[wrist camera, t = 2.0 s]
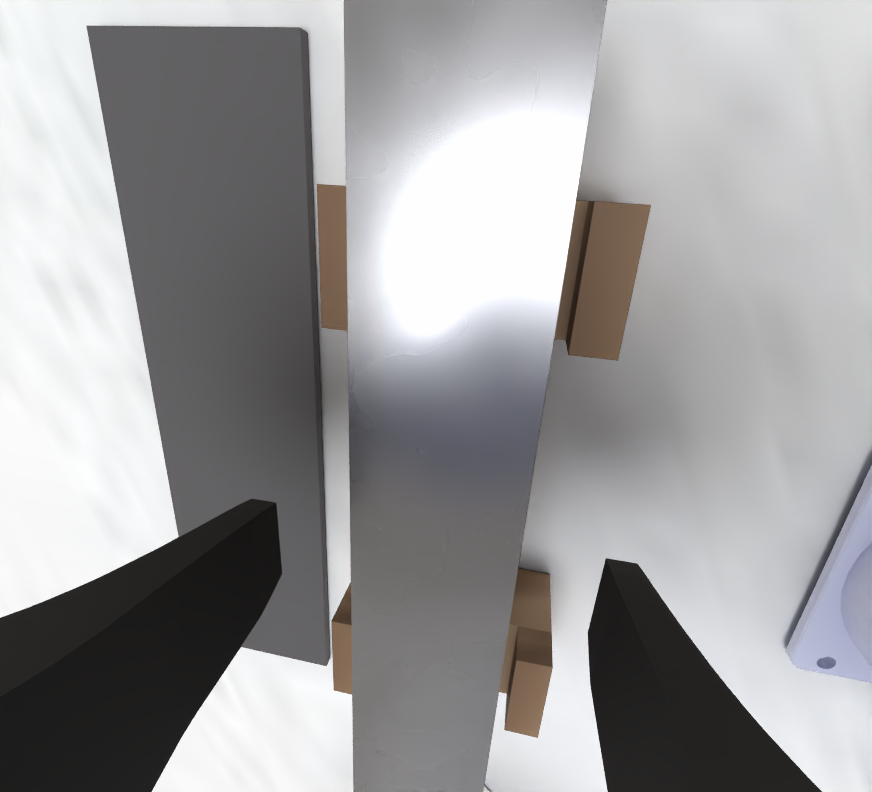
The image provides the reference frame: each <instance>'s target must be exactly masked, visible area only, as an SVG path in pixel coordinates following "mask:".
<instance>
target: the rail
mask: <svg viewBox="0 0 872 792" xmlns="http://www.w3.org/2000/svg"><path fill="white" fill-rule="evenodd" d="M606 4H607V0H344V56H345V137H346V217H347V298H348V379H349V460H350V541H351V621H352V702H353V783H354V792H483V790H484V783H485V777H486V771H487V764H488V758H489V751H490V745H491V739H492V732H493V726H494V720H495V713H496V707H497V700H498V694H499V688H500V681H501V675H502V668H503V662H504V656H505V649H506V643H507V636H508V630H509V624H510V617H511V611H512V605H513V598H514V592H515V585H516V579H517V573H518V566H519V560H520V553H521V547H522V541H523V534H524V528H525V522H526V515H527V509H528V502H529V496H530V490H531V483H532V477H533V470H534V464H535V458H536V451H537V445H538V438H539V432H540V426H541V419H542V413H543V407H544V400H545V394H546V387H547V381H548V375H549V368H550V362H551V355H552V349H553V343H554V336H555V330H556V323H557V317H558V311H559V304H560V298H561V292H562V285H563V279H564V272H565V266H566V260H567V253H568V247H569V240H570V234H571V228H572V221H573V215H574V209H575V202H576V196H577V189H578V183H579V177H580V170H581V164H582V157H583V151H584V145H585V138H586V132H587V125H588V119H589V113H590V106H591V100H592V94H593V87H594V81H595V74H596V68H597V62H598V55H599V49H600V42H601V36H602V30H603V23H604V17H605V11H606Z"/></svg>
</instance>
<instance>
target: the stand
mask: <svg viewBox="0 0 872 792" xmlns="http://www.w3.org/2000/svg"><path fill="white" fill-rule="evenodd" d="M317 205H318V234H319V264H320V294H321V323H322V328H329V329H338V330H347V331H348V298H347V217H346V186H338V185H322V184H317ZM650 207H651V205H644V204H628V203H612V202H595V201H576V202H575V209H574V215H573V221H572V228H571V234H570V240H569V247H568V253H567V260H566V266H565V272H564V279H563V285H562V292H561V298H560V304H559V311H558V317H557V323H556V330H555V336H554V339H561V340H566V345H567V350H568V355H573V356H582V357H591V358H600V359H609V360H618V357H619V353H620V348H621V343H622V339H623V334H624V329H625V325H626V320H627V315H628V310H629V306H630V301H631V296H632V292H633V287H634V282H635V277H636V273H637V268H638V263H639V259H640V254H641V249H642V245H643V240H644V235H645V230H646V226H647V221H648V216H649V212H650ZM332 650H333V680H334V690H335V691H339V692H344V693H348V694H352V621H351V583H350V585H349V587H348V589H347V591H346V593H345V595H344V597H343V599H342V601H341V603H340V605H339V607H338V609H337V611H336V613H335V615H334V617H333V619H332ZM552 668H553V665H552V633H551V600H550V574H546V573H540V572H535V571H529V570H524V569H518V573H517V579H516V585H515V592H514V598H513V605H512V611H511V617H510V624H509V630H508V636H507V643H506V649H505V656H504V662H503V668H502V675H501V681H500V688H499V692H502V693H506V694H507V698H506V714H505V730H507V731H511V732H515V733H520V734H524V735H528V736H533V737H537V738H538V734H539V729H540V724H541V720H542V715H543V710H544V706H545V701H546V696H547V691H548V687H549V682H550V677H551V673H552Z"/></svg>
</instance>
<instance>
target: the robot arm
mask: <svg viewBox="0 0 872 792" xmlns="http://www.w3.org/2000/svg"><path fill="white" fill-rule="evenodd" d="M281 575H282V564H281V552H280V540H279V528H278V516H277V504H276V503H275V502H270V501H264V500H258V499H249V500H247V501H245V502H243V503H241V504H239V505H237V506H235V507H233V508H232V509H230V510H228V511H226V512H224V513H222V514H220V515H219V516H217V517H215V518H213V519H211V520H210V521H208V522H206V523H204V524H202V525H200V526H199V527H197V528H195V529H193V530H191V531H189V532H188V533H186V534H184V535H182V536H180V537H178V538H177V539H175V540H173V541H171V542H169V543H167V544H165V545H164V546H162V547H160V548H158V549H156V550H154V551H152V552H150V553H148V554H146V555H144V556H142V557H140V558H138V559H136V560H134V561H132V562H130V563H128V564H126V565H124V566H122V567H120V568H118V569H116V570H114V571H112V572H110V573H108V574H106V575H104V576H102V577H99V578H97V579H95V580H93V581H91V582H88V583H86V584H84V585H82V586H79V587H77V588H75V589H73V590H70V591H68V592H65V593H63V594H61V595H58V596H56V597H54V598H51V599H49V600H46V601H44V602H42V603H39V604H36V605H34V606H31V607H29V608H26V609H24V610H21V611H18V612H15V613H13V614H10V615H7V616H4V617H2V618H0V792H152V790H153V788H154V786H155V784H156V782H157V781H158V779H159V777H160V775H161V773H162V772H163V770H164V768H165V766H166V764H167V763H168V761H169V759H170V757H171V755H172V753H173V752H174V750H175V748H176V746H177V744H178V743H179V741H180V739H181V737H182V736H183V734H184V732H185V731H186V729H187V727H188V726H189V724H190V723H191V721H192V719H193V718H194V716H195V715H196V713H197V711H198V710H199V708H200V707H201V706H202V704H203V703H204V701H205V700H206V698H207V697H208V695H209V694H210V692H211V691H212V689H213V688H214V686H215V685H216V683H217V682H218V680H219V679H220V677H221V676H222V674H223V673H224V671H225V670H226V668H227V667H228V665H229V664H230V662H231V661H232V659H233V658H234V656H235V655H236V653H237V652H238V650H239V649H240V647H241V646H242V644H243V643H244V641H245V640H246V638H247V637H248V635H249V634H250V632H251V631H252V629H253V628H254V626H255V625H256V623H257V621H258V620H259V618H260V617H261V615H262V613H263V611H264V609H265V608H266V606H267V604H268V602H269V600H270V598H271V596H272V594H273V592H274V590H275V588H276V586H277V584H278V582H279V579H280V577H281ZM588 646H589V667H590V684H591V691H592V697H593V704H594V710H595V716H596V722H597V729H598V735H599V741H600V747H601V753H602V759H603V765H604V771H605V778H606V784H607V790H608V792H822V791H821V790H820V789H819V788H818V787H817V786H816V785H815V784H814V783H813V782H812V781H811V780H810V779H809V778H808V777H807V776H806V775H805V774H804V773H803V772H802V770H801V769H800V768H799V767H798V766H797V765H796V764H795V763H794V762H793V761H792V760H791V759H790V758H789V756H788V755H787V754H786V753H785V752H784V751H783V750H782V749H781V748H780V747H779V746H778V745H777V744H776V742H775V741H774V740H773V739H772V738H771V737H770V736H769V735H768V734H767V733H766V732H765V730H764V729H763V728H762V727H761V726H760V725H759V724H758V722H757V721H756V720H755V719H754V718H753V717H752V716H751V714H750V713H749V712H748V711H747V710H746V709H745V707H744V706H743V705H742V704H741V702H740V701H739V700H738V699H737V698H736V696H735V695H734V694H733V693H732V692H731V690H730V689H729V688H728V687H727V686H726V684H725V683H724V682H723V681H722V679H721V678H720V677H719V675H718V674H717V673H716V672H715V670H714V669H713V668H712V667H711V665H710V664H709V663H708V661H707V660H706V659H705V657H704V656H703V655H702V653H701V652H700V651H699V649H698V648H697V647H696V645H695V644H694V643H693V641H692V640H691V639H690V637H689V636H688V635H687V633H686V632H685V631H684V629H683V628H682V627H681V625H680V624H679V622H678V621H677V620H676V618H675V617H674V615H673V614H672V613H671V611H670V610H669V608H668V607H667V605H666V604H665V603H664V601H663V600H662V598H661V597H660V595H659V594H658V592H657V591H656V590H655V588H654V587H653V585H652V584H651V582H650V581H649V579H648V578H647V576H646V575H645V574H644V572H643V571H642V569H641V568H640V567H639V565H638V564H636V563H630V562H624V561H618V560H612V559H607V558H606V560H605V564H604V569H603V573H602V577H601V581H600V585H599V589H598V593H597V597H596V601H595V606H594V610H593V614H592V618H591V622H590V626H589V630H588ZM786 652H787V654H788V656H789V658H790V660H791V662H792V664H793V665H795V666H796V667H798V668H801V669H804V670H809V671H814V672H819V673H824V674H829V675H835V676H840V677H845V678H850V679H855V680H860V681H865V682H871V683H872V465H871V467H870V469H869V472H868V474H867V476H866V478H865V480H864V482H863V484H862V487H861V489H860V491H859V493H858V495H857V497H856V499H855V502H854V504H853V506H852V508H851V510H850V512H849V515H848V517H847V519H846V521H845V523H844V525H843V527H842V530H841V532H840V534H839V536H838V538H837V540H836V542H835V545H834V547H833V549H832V551H831V553H830V555H829V558H828V560H827V562H826V564H825V566H824V568H823V570H822V573H821V575H820V577H819V579H818V581H817V583H816V586H815V588H814V590H813V592H812V594H811V596H810V598H809V601H808V603H807V605H806V607H805V609H804V611H803V613H802V616H801V618H800V620H799V622H798V624H797V626H796V629H795V631H794V633H793V635H792V637H791V639H790V641H789V644H788V646H787V650H786ZM822 657H824V658H822Z"/></svg>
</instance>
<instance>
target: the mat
mask: <svg viewBox="0 0 872 792" xmlns="http://www.w3.org/2000/svg"><path fill="white" fill-rule="evenodd" d="M87 31H88V36H89V42H90V47H91V53H92V59H93V64H94V70H95V75H96V81H97V86H98V92H99V97H100V103H101V108H102V114H103V120H104V125H105V131H106V136H107V142H108V147H109V153H110V158H111V164H112V169H113V175H114V181H115V186H116V192H117V197H118V203H119V208H120V214H121V219H122V225H123V230H124V236H125V241H126V247H127V253H128V258H129V264H130V269H131V275H132V280H133V286H134V291H135V297H136V302H137V308H138V314H139V319H140V325H141V330H142V336H143V341H144V347H145V352H146V358H147V363H148V369H149V375H150V380H151V386H152V391H153V397H154V402H155V408H156V413H157V419H158V424H159V430H160V436H161V441H162V447H163V452H164V458H165V463H166V469H167V474H168V480H169V485H170V491H171V497H172V502H173V508H174V513H175V519H176V524H177V530H178V535H179V537H180V536H182V535H184V534H186V533H188V532H189V531H191V530H193V529H195V528H197V527H199V526H200V525H202V524H204V523H206V522H208V521H210V520H211V519H213V518H215V517H217V516H219V515H220V514H222V513H224V512H226V511H228V510H230V509H232V508H233V507H235V506H237V505H239V504H241V503H243V502H245V501H247V500H249V499H258V500H264V501H270V502H275V503H276V504H277V516H278V528H279V540H280V552H281V564H282V575H281V577H280V579H279V582H278V584H277V586H276V588H275V590H274V592H273V594H272V596H271V598H270V600H269V602H268V604H267V606H266V608H265V609H264V611H263V613H262V615H261V617H260V618H259V620H258V621H257V623H256V625H255V626H254V628H253V629H252V631H251V632H250V634H249V635H248V637H247V638H246V640H245V641H244V643H243V644H242V646H241V647H244V648H249V649H253V650H257V651H262V652H266V653H271V654H275V655H280V656H284V657H289V658H293V659H297V660H302V661H306V662H311V663H315V664H320V665H324V666H327V664H328V661H329V659H330V640H329V613H328V585H327V558H326V531H325V503H324V476H323V449H322V421H321V394H320V367H319V339H318V312H317V285H316V257H315V230H314V203H313V175H312V148H311V121H310V93H309V66H308V39H307V32H306V31H304V30H303V29H301V28H284V27H171V26H87Z"/></svg>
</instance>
